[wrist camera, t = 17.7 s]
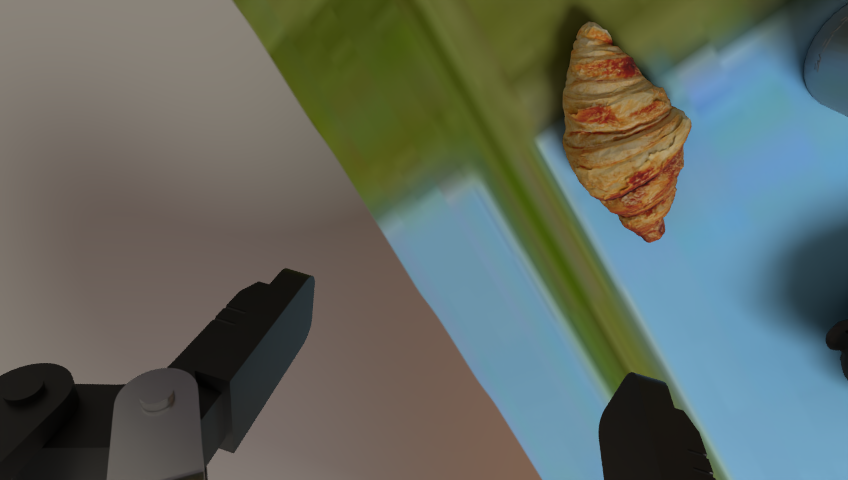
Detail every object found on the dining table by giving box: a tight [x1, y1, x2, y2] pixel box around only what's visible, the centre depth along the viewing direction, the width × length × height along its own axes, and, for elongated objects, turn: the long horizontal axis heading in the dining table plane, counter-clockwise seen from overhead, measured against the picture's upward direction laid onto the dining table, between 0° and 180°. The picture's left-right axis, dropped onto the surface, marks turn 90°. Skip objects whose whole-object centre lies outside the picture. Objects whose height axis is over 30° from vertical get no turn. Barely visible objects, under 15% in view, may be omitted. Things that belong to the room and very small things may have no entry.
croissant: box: [563, 22, 691, 243], centre depth 40 cm, size 21×10×8 cm, turn 28°
